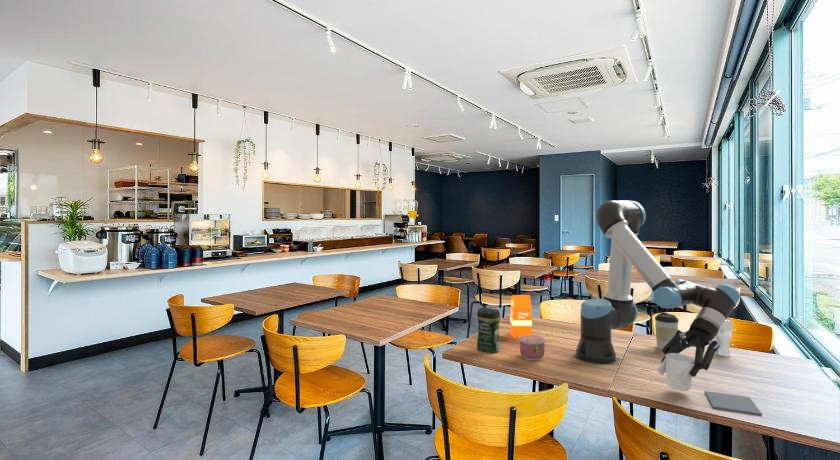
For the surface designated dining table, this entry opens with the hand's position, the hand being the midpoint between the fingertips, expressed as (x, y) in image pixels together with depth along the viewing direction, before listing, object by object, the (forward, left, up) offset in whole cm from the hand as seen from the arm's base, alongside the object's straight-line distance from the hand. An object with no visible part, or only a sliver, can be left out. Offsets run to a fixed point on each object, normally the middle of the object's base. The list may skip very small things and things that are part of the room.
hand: (671, 377), depth 138 cm
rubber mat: (+16, 0, -6) cm, 17 cm away
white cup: (+2, +2, -4) cm, 5 cm away
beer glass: (+24, +52, -6) cm, 58 cm away
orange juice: (-58, +47, -6) cm, 75 cm away
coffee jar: (-67, +20, -6) cm, 70 cm away
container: (-48, +18, -6) cm, 51 cm away
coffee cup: (+4, +52, -6) cm, 53 cm away
